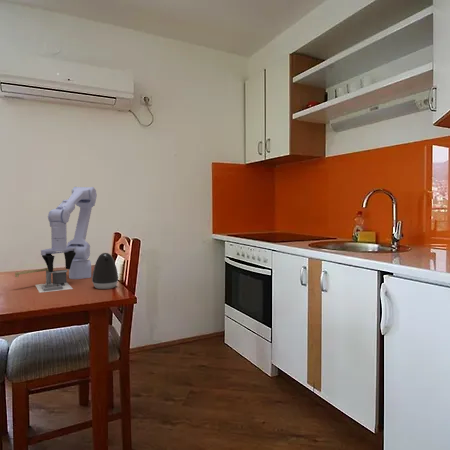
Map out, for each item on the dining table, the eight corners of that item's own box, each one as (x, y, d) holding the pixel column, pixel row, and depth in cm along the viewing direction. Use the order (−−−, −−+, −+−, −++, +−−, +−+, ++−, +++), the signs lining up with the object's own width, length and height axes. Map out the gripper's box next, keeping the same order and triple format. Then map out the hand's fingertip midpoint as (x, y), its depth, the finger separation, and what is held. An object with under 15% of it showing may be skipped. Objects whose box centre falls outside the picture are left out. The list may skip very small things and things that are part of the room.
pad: (63, 283, 149) (63, 282, 149) (64, 285, 146) (64, 284, 146) (54, 284, 147) (54, 283, 147) (55, 286, 144) (55, 285, 144)
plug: (62, 282, 150) (62, 269, 150) (67, 282, 147) (67, 269, 147) (51, 284, 146) (51, 270, 147) (56, 283, 143) (56, 270, 144)
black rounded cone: (94, 293, 138) (93, 255, 137) (90, 287, 147) (90, 251, 147) (120, 290, 143) (120, 253, 142) (115, 285, 152) (115, 250, 151)
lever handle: (53, 272, 149) (53, 267, 149) (17, 277, 137) (17, 273, 137) (50, 271, 150) (49, 267, 150) (14, 276, 138) (14, 272, 138)
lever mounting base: (66, 283, 153) (66, 268, 153) (72, 291, 141) (72, 274, 141) (35, 287, 147) (35, 271, 146) (39, 295, 134) (39, 277, 134)
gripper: (69, 236, 154) (69, 266, 155) (36, 238, 142) (37, 271, 143) (79, 237, 150) (79, 268, 151) (46, 239, 138) (46, 274, 139)
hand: (59, 270), depth 147 cm, fingers open, 7 cm apart
